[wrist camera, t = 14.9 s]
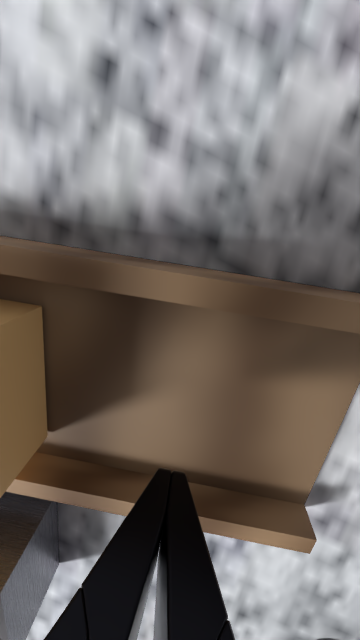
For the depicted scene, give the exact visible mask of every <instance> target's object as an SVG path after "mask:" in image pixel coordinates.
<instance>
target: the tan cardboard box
mask: <svg viewBox="0 0 360 640" xmlns="http://www.w3.org/2000/svg"><path fill="white" fill-rule="evenodd" d="M47 436H48V433H47V411H46V388H45V365H44V343H43V320H42V306H38V305H33V304H27V303H21V302H15V301H9V300H3V299H0V498H1V497H2V495H3V494H4V493H5V491H6V490H7V489H8V487H9V486H10V485H11V483H12V482H13V481H14V480H15V478H16V477H17V476H18V474H19V473H20V472H21V470H22V469H23V468H24V466H25V465H26V464H27V463H28V461H29V460H30V459H31V457H32V456H33V455H34V453H35V452H36V451H37V449H38V448H39V447H40V446H41V444H42V443H43V442H44V440H45V439H46V438H47Z"/></svg>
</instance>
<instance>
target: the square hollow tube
mask: <svg viewBox="0 0 360 640" xmlns="http://www.w3.org/2000/svg"><path fill="white" fill-rule="evenodd" d="M58 565H59V551H58V519H57V502H55V501H50V500H45V499H40V498H35V497H30V496H25V495H20V494H15V493H11V492H6V491H5V493H4V494H3V495H2V497H1V498H0V640H26V638H27V635H28V633H29V631H30V628H31V626H32V624H33V622H34V619H35V617H36V615H37V613H38V610H39V608H40V606H41V603H42V601H43V599H44V597H45V594H46V592H47V590H48V588H49V585H50V583H51V581H52V579H53V576H54V574H55V572H56V569H57V567H58Z"/></svg>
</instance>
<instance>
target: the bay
mask: <svg viewBox="0 0 360 640" xmlns="http://www.w3.org/2000/svg"><path fill="white" fill-rule="evenodd" d="M0 299H3V300H9V301H15V302H21V303H27V304H33V305H38V306H42V320H43V343H44V365H45V388H46V411H47V433H48V436H47V438H46V439H45V440H44V442H43V443H42V444H41V446H40V447H39V448H38V449H37V451H36V452H35V453H34V455H33V456H32V457H31V459H30V460H29V461H28V463H27V464H26V465H25V466H24V468H23V469H22V470H21V472H20V473H19V474H18V476H17V477H16V478H15V480H14V481H13V482H12V483H11V485H10V486H9V487H8V489H7V490H6V492H11V493H15V494H20V495H25V496H30V497H35V498H40V499H45V500H50V501H55V502H59V503H64V504H69V505H74V506H79V507H84V508H89V509H94V510H99V511H103V512H108V513H113V514H118V515H123V516H127V515H128V514H129V512H130V511H131V509H132V507H133V506H134V504H135V503H136V501H137V500H138V498H139V497H140V495H141V494H142V492H143V491H144V489H145V488H146V486H147V485H148V483H149V482H150V480H151V479H152V477H153V476H154V474H155V473H156V471H157V470H158V469H159V468H165V469H170V470H171V472H172V471H174V470H176V471H181V472H184V473H185V474H186V476H187V480H188V483H189V487H190V490H191V493H192V497H193V500H194V503H195V507H196V510H197V514H198V517H199V520H200V524H201V527H202V530H203V532H206V533H211V534H216V535H221V536H226V537H231V538H235V539H240V540H245V541H250V542H255V543H260V544H265V545H270V546H275V547H280V548H284V549H289V550H294V551H299V552H304V553H309V554H310V552H311V550H312V548H313V546H314V545H315V543H316V541H317V540H316V537H315V534H314V531H313V528H312V525H311V523H310V520H309V517H308V514H307V511H306V508H305V506H304V504H305V502H306V500H307V498H308V496H309V493H310V491H311V489H312V487H313V485H314V482H315V480H316V478H317V476H318V473H319V471H320V469H321V467H322V465H323V462H324V460H325V458H326V456H327V454H328V451H329V449H330V447H331V445H332V443H333V440H334V438H335V436H336V434H337V431H338V429H339V427H340V425H341V423H342V420H343V418H344V416H345V414H346V412H347V409H348V407H349V405H350V403H351V401H352V398H353V396H354V394H355V392H356V390H357V387H358V385H359V383H360V293H355V292H349V291H342V290H336V289H330V288H324V287H317V286H311V285H305V284H299V283H292V282H286V281H280V280H274V279H267V278H261V277H255V276H249V275H242V274H236V273H230V272H224V271H218V270H211V269H205V268H199V267H193V266H186V265H180V264H174V263H168V262H161V261H155V260H149V259H143V258H136V257H130V256H124V255H118V254H111V253H105V252H99V251H93V250H87V249H80V248H74V247H68V246H62V245H55V244H49V243H43V242H37V241H30V240H24V239H18V238H12V237H5V236H0ZM171 474H172V473H171Z"/></svg>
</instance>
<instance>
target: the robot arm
mask: <svg viewBox="0 0 360 640" xmlns="http://www.w3.org/2000/svg"><path fill="white" fill-rule="evenodd" d="M171 473H172V474H171ZM160 541H161V542H160ZM159 547H160V549H159ZM158 552H159V557H158ZM157 557H158V570H157V587H156V604H155V621H154V638H153V640H235V638H234V634H233V631H232V628H231V624H230V622H229V621H228V620H227V619H228V615H227V611H226V608H225V605H224V601H223V598H222V594H221V591H220V588H219V584H218V581H217V578H216V574H215V571H214V568H213V564H212V561H211V557H210V554H209V551H208V547H207V544H206V541H205V537H204V534H203V530H202V527H201V524H200V520H199V517H198V514H197V510H196V507H195V503H194V500H193V497H192V493H191V490H190V487H189V483H188V480H187V476H186V474H185V473H184V472H181V471H176V470H174V471H172V472H171V470H170V469H165V468H159V469H158V470H157V471H156V473H155V474H154V476H153V477H152V479H151V480H150V482H149V483H148V485H147V486H146V488H145V489H144V491H143V492H142V494H141V495H140V497H139V498H138V500H137V501H136V503H135V504H134V506H133V507H132V509H131V511H130V512H129V514H128V515H127V517H126V518H125V520H124V521H123V523H122V524H121V526H120V527H119V529H118V530H117V532H116V533H115V535H114V536H113V538H112V539H111V541H110V542H109V544H108V545H107V547H106V548H105V550H104V551H103V553H102V555H101V556H100V558H99V559H98V561H97V562H96V564H95V565H94V567H93V568H92V570H91V571H90V573H89V574H88V576H87V577H86V579H85V580H84V582H83V583H82V588H79V589H78V591H77V592H76V594H75V595H74V597H73V598H72V600H71V601H70V603H69V604H68V606H67V607H66V609H65V610H64V612H63V613H62V614H61V616H60V617H59V619H58V620H57V622H56V623H55V625H54V626H53V627H52V629H51V630H50V632H49V633H48V635H47V636H46V637H45V639H44V640H137V637H138V633H139V629H140V625H141V621H142V617H143V613H144V609H145V605H146V601H147V598H148V594H149V590H150V586H151V582H152V578H153V574H154V570H155V566H156V562H157Z"/></svg>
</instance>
